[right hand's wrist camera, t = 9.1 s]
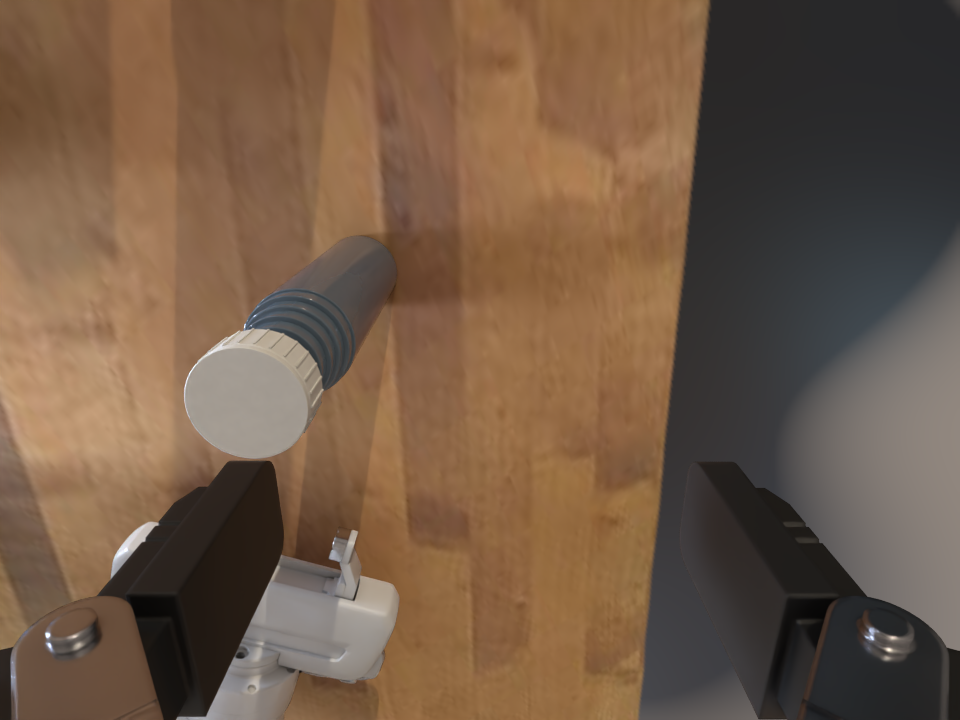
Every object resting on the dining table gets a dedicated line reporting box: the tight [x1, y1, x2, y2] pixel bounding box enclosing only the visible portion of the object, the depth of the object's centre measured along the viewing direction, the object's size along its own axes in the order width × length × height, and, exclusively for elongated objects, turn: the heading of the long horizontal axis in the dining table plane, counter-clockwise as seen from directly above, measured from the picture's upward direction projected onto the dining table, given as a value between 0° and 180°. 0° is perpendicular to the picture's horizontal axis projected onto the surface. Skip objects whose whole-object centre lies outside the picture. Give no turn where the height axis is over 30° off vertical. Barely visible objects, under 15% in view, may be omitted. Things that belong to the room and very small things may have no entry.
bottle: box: [243, 236, 397, 391], centre depth 31 cm, size 5×5×21 cm
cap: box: [184, 328, 324, 459], centre depth 22 cm, size 4×4×2 cm
